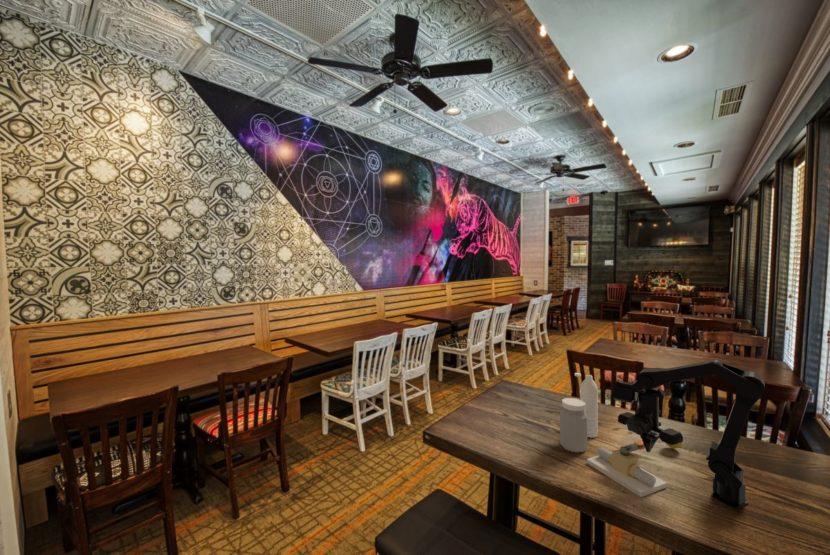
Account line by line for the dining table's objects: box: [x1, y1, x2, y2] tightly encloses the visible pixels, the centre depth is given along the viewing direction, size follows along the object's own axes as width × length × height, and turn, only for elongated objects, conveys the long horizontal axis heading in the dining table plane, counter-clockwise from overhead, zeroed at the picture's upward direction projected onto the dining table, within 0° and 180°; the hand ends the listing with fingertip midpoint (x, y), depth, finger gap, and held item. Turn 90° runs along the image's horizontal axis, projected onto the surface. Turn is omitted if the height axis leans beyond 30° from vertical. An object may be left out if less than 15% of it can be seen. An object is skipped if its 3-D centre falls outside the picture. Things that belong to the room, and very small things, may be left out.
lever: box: [619, 439, 645, 456], centre depth 120 cm, size 12×3×2 cm, turn 113°
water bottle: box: [574, 372, 599, 439], centre depth 147 cm, size 9×6×25 cm
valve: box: [586, 446, 668, 498], centre depth 119 cm, size 20×12×7 cm, turn 22°
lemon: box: [665, 427, 683, 450], centre depth 134 cm, size 6×6×8 cm
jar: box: [559, 397, 588, 454], centre depth 136 cm, size 10×10×18 cm
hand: (648, 452), depth 120 cm, fingers closed
